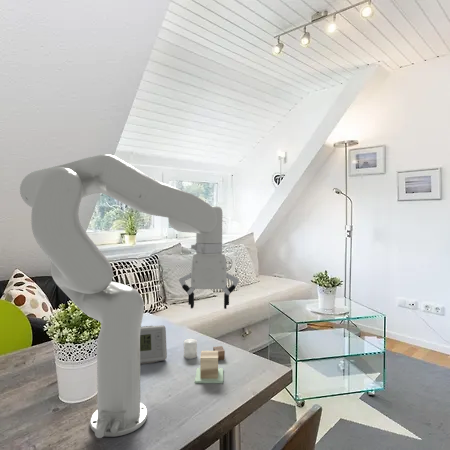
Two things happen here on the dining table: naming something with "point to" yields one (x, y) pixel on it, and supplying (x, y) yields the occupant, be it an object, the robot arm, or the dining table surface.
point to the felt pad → (219, 380)
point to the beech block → (209, 365)
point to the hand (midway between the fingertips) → (208, 307)
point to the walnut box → (220, 352)
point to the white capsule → (190, 348)
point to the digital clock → (152, 344)
